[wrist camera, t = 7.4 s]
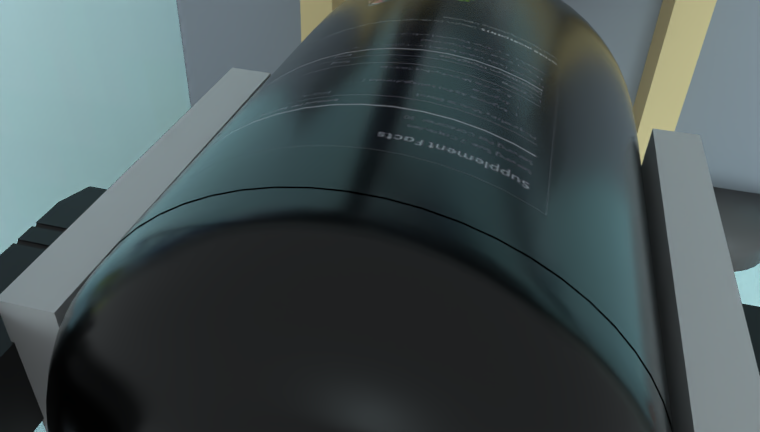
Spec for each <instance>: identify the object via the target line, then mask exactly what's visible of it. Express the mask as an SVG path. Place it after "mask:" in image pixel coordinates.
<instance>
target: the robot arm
mask: <svg viewBox="0 0 760 432" xmlns="http://www.w3.org/2000/svg"><path fill="white" fill-rule="evenodd" d="M270 76H271V73H266V72H259V71H252V70H245V69H238V68H231V69H230V70H229V71H228V72H227V73H226V74H225V75H224V76H223V77H222V78H221V79H220V80H219V81H218V82H217V83H216V84H215V85H214V86H213V87H212V88H211V89H210V90H209V91H208V92H207V93H206V94H205V95H204V96H203V97H202V98H201V99H200V100H199V101H198V102H197V103H196V104H195V105H194V106H193V107H192V108H190V109H189V110H188V111H187V112H186V113H185V114H184V115H183V116H182V117H181V118H180V119H179V120H178V121H177V122H176V123H175V124H174V125H173V126H172V127H171V128H170V129H169V130H168V131H167V132H166V133H165V134H164V135H163V136H162V137H161V138H160V139H159V140H158V141H157V142H156V143H155V144H154V145H153V146H152V147H151V148H150V149H148V150H147V151H146V152H145V153H144V154H143V155H142V156H141V157H140V158H139V159H138V160H137V161H136V162H135V163H134V164H133V165H132V166H131V167H130V168H129V169H128V170H127V171H126V172H125V173H124V174H123V175H122V176H121V177H120V178H119V179H118V180H117V181H116V182H115V183H114V184H113V185H112V186H111V187H110V188H109V189H108V190H106V189H101V188H96V187H88V188H86V189H84V190H82V191H80V192H78V193H76V194H74V195H72V196H70V197H68V198H66V199H64V200H62V201H60V202H58V203H57V204H56V205H55V206H54V207H53V208H52V209H50V210H49V211H48V212H47V213H46V214H45V215H44V216H43V217H42V218H41V219H40V220H38V221H37V222H36V227H31V228H30V229H29V230H27V231H26V232H25V233H24V234H23V235H22V236H21V237H20V238H19V239H18V243H17V244H14V243H13V244H12V245H11V246H10V247H9V248H8V249H7V250H5V251H4V252H3V253H2V254H1V255H0V432H34V430H35V429H36V428H37V427H38V425H39V424H40V423H41V421H43V424H44V426H45V429H46V431H47V432H48V429H47V415H46V395H47V383H48V372H49V366H50V360H51V356H52V352H53V348H54V344H55V340H56V337H57V333H58V330H59V328H60V326H61V323H62V321H63V319H64V317H65V314H66V312H67V310H68V308H69V306H70V304H71V302H72V301H73V299H74V298H75V296H76V295H77V293H78V292H79V290H80V289H81V287H82V286H83V285H84V283H85V282H86V281H87V279H88V278H89V277H90V275H91V274H92V273H93V272H94V270H95V269H96V268H97V267H98V266H99V265H100V264H101V263H102V261H103V260H104V258H105V257H106V256H107V254H108V253H109V252H110V251H111V250H112V249H113V248H114V247H115V245H116V244H117V243H118V242H119V241H120V240H121V239H122V238H123V237H124V236H125V234H126V233H127V232H128V231H129V230H130V229H131V228H132V227H133V226H134V225H135V224H136V222H137V221H138V220H139V219H140V218H141V217H142V216H143V215H144V214H145V213H146V212H147V210H148V209H149V208H150V207H151V206H152V205H153V204H154V203H155V202H156V201H157V200H158V198H159V197H160V196H161V195H162V194H163V193H164V192H165V191H166V190H167V189H168V188H169V186H170V185H171V184H172V183H173V182H174V181H175V180H176V179H177V178H178V177H179V176H180V174H181V173H182V172H183V171H184V170H185V169H186V168H187V167H188V166H189V165H190V164H191V162H192V161H193V160H194V159H195V158H196V157H197V156H198V155H199V154H200V153H201V152H202V150H203V149H204V148H205V147H206V146H207V145H208V144H209V143H210V142H211V141H212V140H213V138H214V137H215V136H216V135H217V134H218V133H219V132H220V131H221V130H222V129H223V128H224V126H225V125H226V124H227V123H228V122H229V121H230V120H231V119H232V118H233V117H234V116H235V114H236V113H237V112H238V111H239V110H240V109H241V108H242V107H243V106H244V105H245V104H246V102H247V101H248V100H249V99H250V98H251V97H252V96H253V95H254V94H255V93H256V92H257V90H258V89H259V88H260V87H261V86H262V85H263V84H264V83H265V82H266V81H267V80H268V78H269V77H270ZM641 167H642V176H643V184H644V192H645V200H646V208H647V216H648V224H649V232H650V240H651V248H652V257H653V265H654V273H655V281H656V289H657V297H658V305H659V313H660V321H661V330H662V338H663V346H664V354H665V362H666V370H667V378H668V386H669V395H670V403H671V411H672V419H673V427H674V432H760V307H757V306H752V305H746V304H742V303H741V298H740V294H739V290H738V286H737V282H736V278H735V274H734V270H733V266H732V262H731V258H730V254H729V250H728V246H727V242H726V238H725V234H724V230H723V226H722V222H721V218H720V214H719V210H718V206H717V202H716V198H715V193H714V189H713V185H712V181H711V177H710V173H709V169H708V165H707V161H706V157H705V153H704V149H703V145H702V141H701V137H700V135H695V134H688V133H681V132H674V131H667V130H660V129H652V132H651V136H650V139H649V142H648V146H647V149H646V152H645V155H644V159H643V162H642V165H641Z"/></svg>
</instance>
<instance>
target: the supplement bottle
mask: <svg viewBox="0 0 760 432" xmlns="http://www.w3.org/2000/svg"><path fill="white" fill-rule="evenodd" d="M46 415H47V429H48V432H674V427H673V419H672V411H671V403H670V395H669V386H668V378H667V370H666V362H665V354H664V346H663V338H662V330H661V321H660V313H659V305H658V297H657V289H656V281H655V273H654V265H653V257H652V248H651V240H650V232H649V224H648V216H647V208H646V200H645V192H644V184H643V176H642V167H641V159H640V151H639V143H638V137H637V131H636V125H635V120H634V114H633V108H632V103H631V99H630V96H629V92H628V89H627V85H626V83H625V80H624V78H623V75H622V73H621V70H620V68H619V66H618V64H617V62H616V60H615V58H614V57H613V55H612V53H611V51H610V50H609V48H608V47H607V45H606V44H605V43H604V41H603V40H602V38H601V37H600V35H599V34H598V33H597V32H596V31H595V30H594V29H593V28H592V26H591V25H590V24H589V23H588V22H587V21H586V20H585V19H584V18H583V17H582V16H581V15H580V14H578V13H577V12H576V11H575V10H574V9H573V8H572V7H570V6H569V5H567V4H566V3H565V2H563V1H562V0H345V1H344V2H343V3H341V4H340V5H339V6H338V7H337V8H336V9H334V10H333V11H332V12H331V13H330V14H329V15H328V16H327V17H326V18H325V19H324V20H323V21H322V22H321V23H320V24H319V25H318V26H317V27H316V28H314V30H313V31H312V32H311V33H310V34H309V35H308V36H307V37H306V38H305V39H304V40H303V41H302V43H301V44H300V45H299V46H298V47H297V48H296V49H295V50H294V51H293V52H292V53H291V54H290V56H289V57H288V58H287V59H286V60H285V61H284V62H283V63H282V64H281V65H280V66H279V68H278V69H277V70H276V71H275V72H274V73H273V74H272V75H271V76H270V77H269V78H268V80H267V81H266V82H265V83H264V84H263V85H262V86H261V87H260V88H259V89H258V90H257V92H256V93H255V94H254V95H253V96H252V97H251V98H250V99H249V100H248V101H247V102H246V104H245V105H244V106H243V107H242V108H241V109H240V110H239V111H238V112H237V113H236V114H235V116H234V117H233V118H232V119H231V120H230V121H229V122H228V123H227V124H226V125H225V126H224V128H223V129H222V130H221V131H220V132H219V133H218V134H217V135H216V136H215V137H214V138H213V140H212V141H211V142H210V143H209V144H208V145H207V146H206V147H205V148H204V149H203V150H202V152H201V153H200V154H199V155H198V156H197V157H196V158H195V159H194V160H193V161H192V162H191V164H190V165H189V166H188V167H187V168H186V169H185V170H184V171H183V172H182V173H181V174H180V176H179V177H178V178H177V179H176V180H175V181H174V182H173V183H172V184H171V185H170V186H169V188H168V189H167V190H166V191H165V192H164V193H163V194H162V195H161V196H160V197H159V198H158V200H157V201H156V202H155V203H154V204H153V205H152V206H151V207H150V208H149V209H148V210H147V212H146V213H145V214H144V215H143V216H142V217H141V218H140V219H139V220H138V221H137V222H136V224H135V225H134V226H133V227H132V228H131V229H130V230H129V231H128V232H127V233H126V234H125V236H124V237H123V238H122V239H121V240H120V241H119V242H118V243H117V244H116V245H115V247H114V248H113V249H112V250H111V251H110V252H109V253H108V254H107V256H106V257H105V258H104V260H103V261H102V263H101V264H100V265H99V266H98V267H97V268H96V269H95V270H94V272H93V273H92V274H91V275H90V277H89V278H88V279H87V281H86V282H85V283H84V285H83V286H82V287H81V289H80V290H79V292H78V293H77V295H76V296H75V298H74V299H73V301H72V302H71V304H70V306H69V308H68V310H67V312H66V314H65V317H64V319H63V321H62V323H61V326H60V328H59V330H58V333H57V337H56V340H55V344H54V348H53V352H52V356H51V360H50V366H49V372H48V383H47V395H46Z"/></svg>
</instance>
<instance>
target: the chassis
mask: <svg viewBox="0 0 760 432" xmlns="http://www.w3.org/2000/svg"><path fill="white" fill-rule="evenodd" d="M344 1H345V0H177V8H178V15H179V22H180V30H181V37H182V44H183V52H184V59H185V66H186V74H187V81H188V88H189V96H190V103H191V108H192V107H193V106H194V105H195V104H196V103H197V102H198V101H199V100H200V99H201V98H202V97H203V96H204V95H205V94H206V93H207V92H208V91H209V90H210V89H211V88H212V87H213V86H214V85H215V84H216V83H217V82H218V81H219V80H220V79H221V78H222V77H223V76H224V75H225V74H226V73H227V72H228V71H229V70H230V69H231V68H238V69H245V70H252V71H259V72H266V73H271V75H272V74H273V73H274V72H275V71H276V70H277V69H278V68H279V66H280V65H281V64H282V63H283V62H284V61H285V60H286V59H287V58H288V57H289V56H290V54H291V53H292V52H293V51H294V50H295V49H296V48H297V47H298V46H299V45H300V44H301V43H302V41H303V40H304V39H305V38H306V37H307V36H308V35H309V34H310V33H311V32H312V31H313V30H314V28H316V27H317V26H318V25H319V24H320V23H321V22H322V21H323V20H324V19H325V18H326V17H327V16H328V15H329V14H330V13H331V12H332V11H333V10H334V9H336V8H337V7H338V6H339V5H340V4H341V3H343V2H344ZM562 1H563V2H565V3H566V4H567V5H569V6H570V7H572V8H573V9H574V10H575V11H576V12H577V13H578V14H580V15H581V16H582V17H583V18H584V19H585V20H586V21H587V22H588V23H589V24H590V25H591V26H592V28H593V29H594V30H595V31H596V32H597V33H598V34H599V35H600V37H601V38H602V40H603V41H604V43H605V44H606V45H607V47H608V48H609V50H610V51H611V53H612V55H613V57H614V58H615V60H616V62H617V64H618V66H619V68H620V70H621V73H622V75H623V78H624V80H625V83H626V85H627V89H628V92H629V96H630V99H631V103H632V108H633V114H634V120H635V125H636V131H637V137H638V143H639V151H640V159H641V165H642V162H643V159H644V155H645V152H646V149H647V146H648V142H649V139H650V136H651V132H652V129H660V130H667V131H674V132H681V133H688V134H695V135H700V137H701V141H702V145H703V149H704V153H705V157H706V161H707V165H708V169H709V173H710V177H711V181H712V185H713V189H714V193H715V198H716V202H717V206H718V210H719V214H720V218H721V222H722V226H723V230H724V234H725V238H726V242H727V246H728V250H729V254H730V258H731V262H732V266H733V270H734V272H735V271H742V270H746V269H749V268H752V267H754V266H756V265H757V264H759V263H760V0H562Z"/></svg>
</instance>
